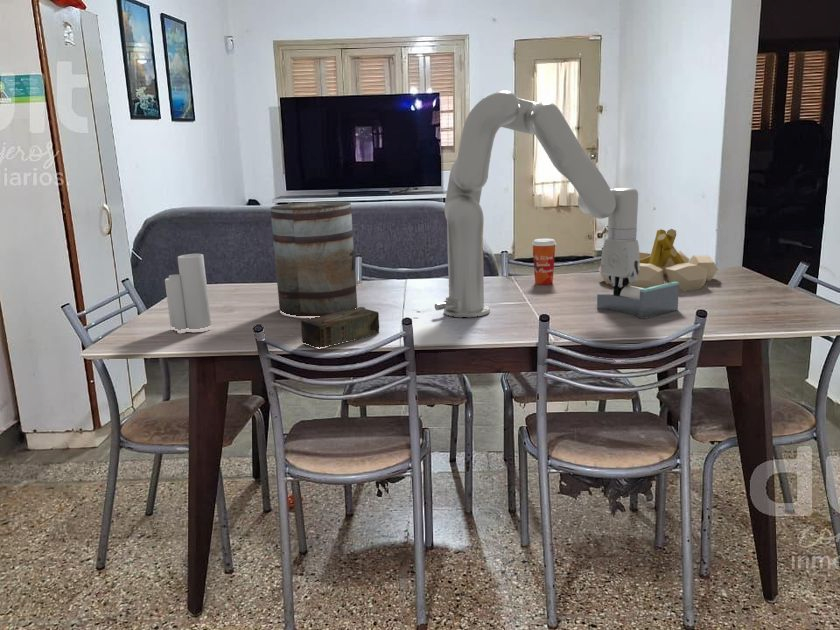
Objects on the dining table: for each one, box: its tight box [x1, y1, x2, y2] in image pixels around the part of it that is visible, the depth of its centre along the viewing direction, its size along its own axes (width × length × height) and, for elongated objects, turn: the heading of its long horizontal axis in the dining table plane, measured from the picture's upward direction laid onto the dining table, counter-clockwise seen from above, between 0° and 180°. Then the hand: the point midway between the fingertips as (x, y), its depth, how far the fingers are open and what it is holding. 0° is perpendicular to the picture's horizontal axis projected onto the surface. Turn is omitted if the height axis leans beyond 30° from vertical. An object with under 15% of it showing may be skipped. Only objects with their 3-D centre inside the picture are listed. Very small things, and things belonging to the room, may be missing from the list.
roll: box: [620, 286, 644, 300], centre depth 193 cm, size 10×6×6 cm, turn 34°
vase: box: [164, 253, 212, 330], centre depth 189 cm, size 11×7×20 cm, turn 85°
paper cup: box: [531, 238, 558, 286], centre depth 230 cm, size 8×8×14 cm
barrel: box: [269, 201, 358, 316], centre depth 206 cm, size 22×22×30 cm
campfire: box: [598, 228, 719, 292], centre depth 227 cm, size 35×34×17 cm
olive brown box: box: [300, 306, 380, 348], centre depth 177 cm, size 8×19×7 cm, turn 134°
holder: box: [596, 282, 680, 319], centre depth 194 cm, size 14×16×8 cm
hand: (619, 300), depth 199 cm, fingers closed
